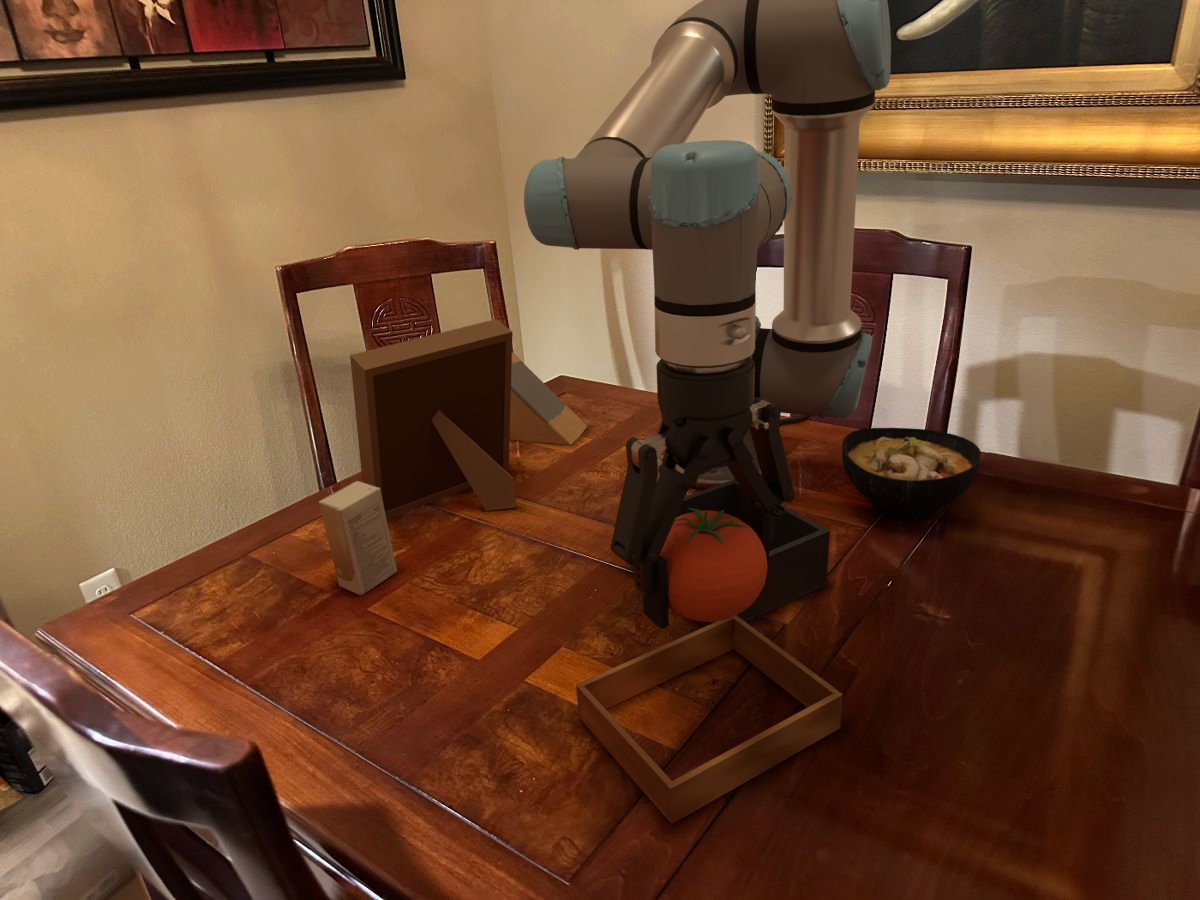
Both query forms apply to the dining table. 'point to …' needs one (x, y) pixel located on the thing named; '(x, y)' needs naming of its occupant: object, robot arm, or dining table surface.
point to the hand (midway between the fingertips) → (707, 597)
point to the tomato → (713, 565)
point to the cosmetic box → (358, 537)
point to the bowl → (909, 470)
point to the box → (740, 760)
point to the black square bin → (773, 549)
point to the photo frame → (437, 417)
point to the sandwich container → (539, 410)
